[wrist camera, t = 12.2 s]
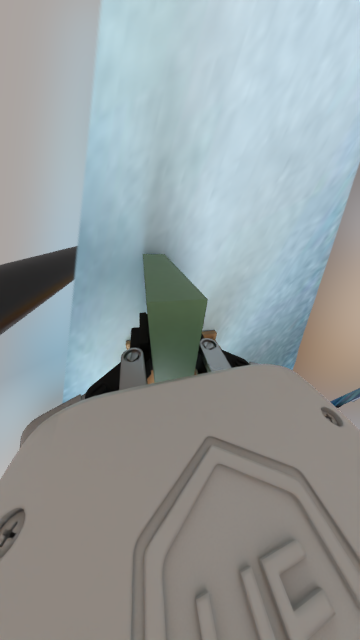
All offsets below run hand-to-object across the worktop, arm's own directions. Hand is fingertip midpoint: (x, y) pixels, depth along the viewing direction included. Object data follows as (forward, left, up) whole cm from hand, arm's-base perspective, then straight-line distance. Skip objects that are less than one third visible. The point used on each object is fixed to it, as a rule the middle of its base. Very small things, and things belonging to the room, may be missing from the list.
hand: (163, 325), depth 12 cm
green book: (0, 0, -8) cm, 8 cm away
